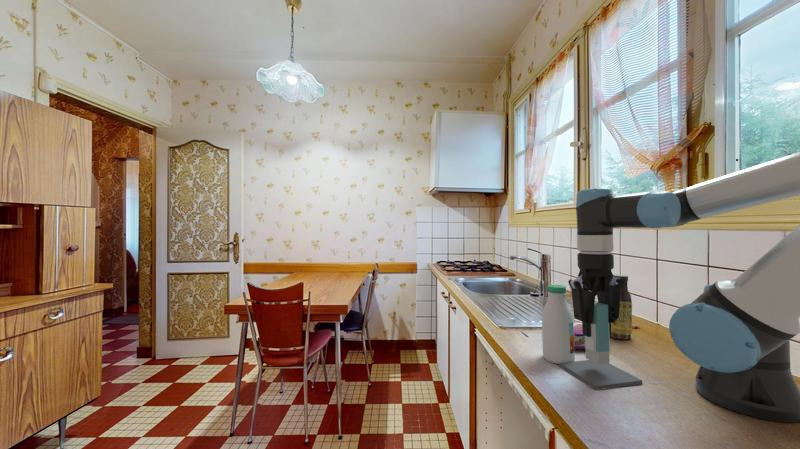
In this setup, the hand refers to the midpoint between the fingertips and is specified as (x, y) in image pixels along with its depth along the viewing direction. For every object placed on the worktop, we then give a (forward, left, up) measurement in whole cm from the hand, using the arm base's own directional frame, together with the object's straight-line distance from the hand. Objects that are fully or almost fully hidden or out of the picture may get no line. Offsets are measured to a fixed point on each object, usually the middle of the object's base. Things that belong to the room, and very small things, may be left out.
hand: (597, 348), depth 77 cm
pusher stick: (0, 0, -3) cm, 3 cm away
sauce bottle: (+20, -26, -7) cm, 34 cm away
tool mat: (0, 0, -6) cm, 6 cm away
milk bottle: (+10, +3, -7) cm, 12 cm away
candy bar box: (+12, -9, -4) cm, 16 cm away
